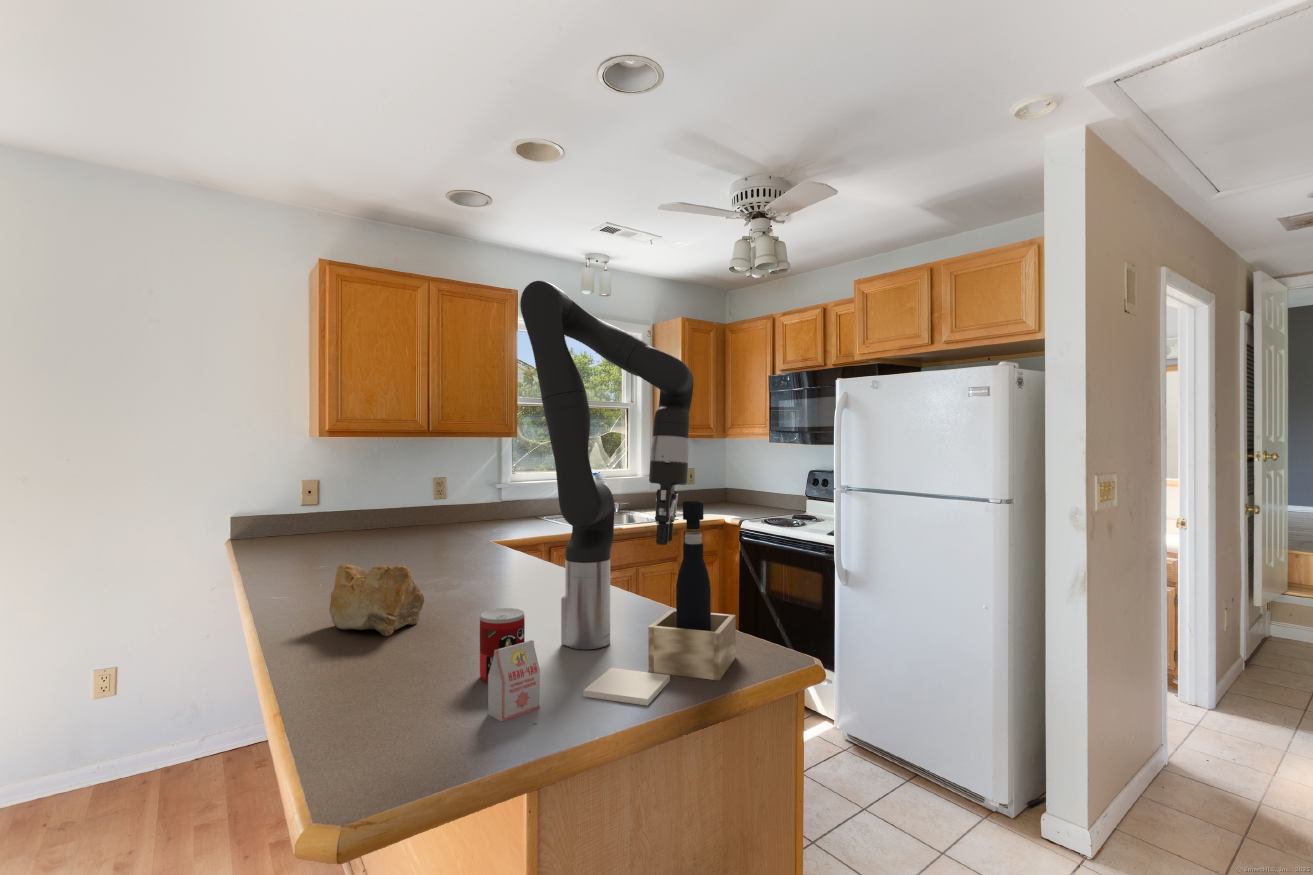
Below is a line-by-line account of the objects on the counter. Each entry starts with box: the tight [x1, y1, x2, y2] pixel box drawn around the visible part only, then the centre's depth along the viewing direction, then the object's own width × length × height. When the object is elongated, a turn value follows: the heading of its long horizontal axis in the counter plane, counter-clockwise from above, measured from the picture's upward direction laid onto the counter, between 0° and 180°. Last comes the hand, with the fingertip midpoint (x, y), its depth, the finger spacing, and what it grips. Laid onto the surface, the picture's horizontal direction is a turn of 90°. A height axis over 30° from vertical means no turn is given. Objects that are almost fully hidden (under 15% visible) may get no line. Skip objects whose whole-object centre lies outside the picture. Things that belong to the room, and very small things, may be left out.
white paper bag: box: [487, 640, 541, 722], centre depth 96 cm, size 4×7×10 cm, turn 137°
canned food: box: [479, 607, 526, 684], centre depth 111 cm, size 8×8×11 cm
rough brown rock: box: [329, 564, 425, 637], centre depth 142 cm, size 23×17×15 cm
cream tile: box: [583, 667, 671, 707], centre depth 105 cm, size 11×11×1 cm
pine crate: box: [647, 609, 737, 681], centre depth 117 cm, size 13×13×8 cm
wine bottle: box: [675, 500, 712, 631], centre depth 117 cm, size 6×6×30 cm
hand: (664, 542), depth 124 cm, fingers open, 8 cm apart
